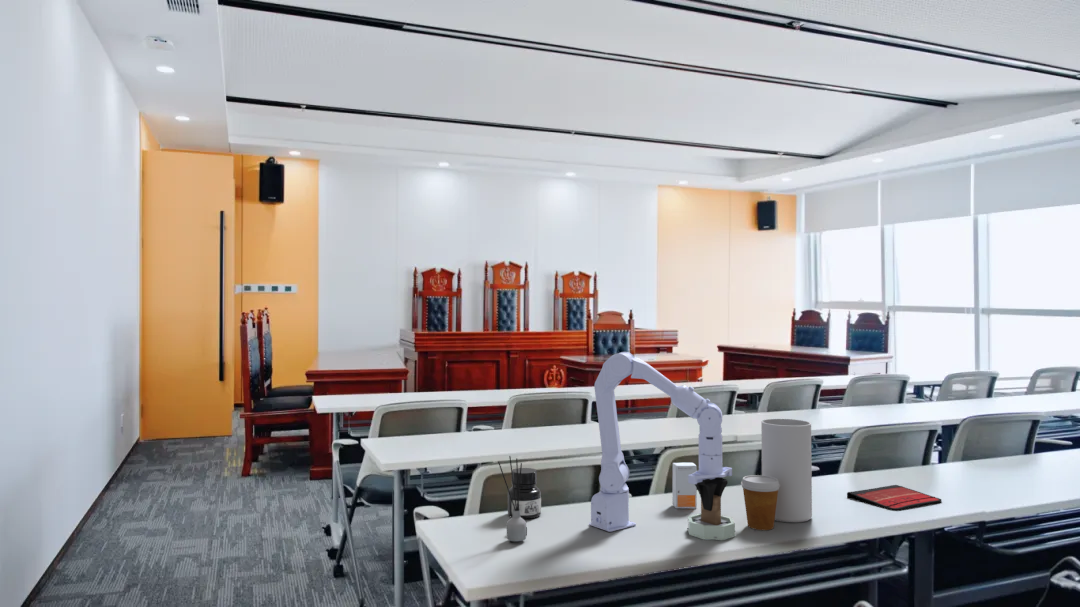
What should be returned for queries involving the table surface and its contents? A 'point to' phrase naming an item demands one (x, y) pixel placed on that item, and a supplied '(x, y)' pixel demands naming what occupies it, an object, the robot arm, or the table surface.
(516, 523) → the reed diffuser
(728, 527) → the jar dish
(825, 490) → the table surface
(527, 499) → the ink bottle
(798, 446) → the cylinder vase
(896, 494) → the binder
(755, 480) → the disposable coffee cup
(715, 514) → the wooden block
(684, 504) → the skincare box
